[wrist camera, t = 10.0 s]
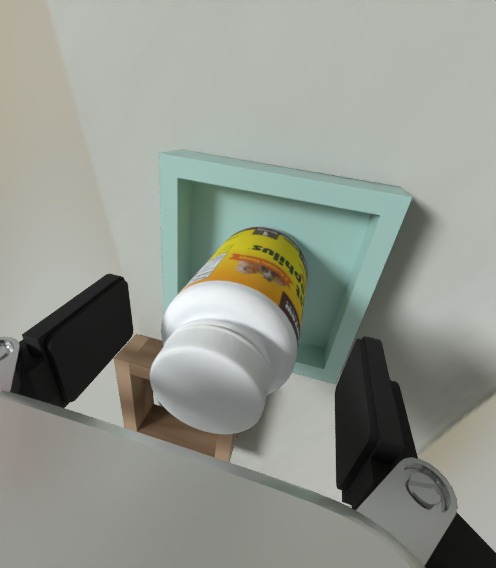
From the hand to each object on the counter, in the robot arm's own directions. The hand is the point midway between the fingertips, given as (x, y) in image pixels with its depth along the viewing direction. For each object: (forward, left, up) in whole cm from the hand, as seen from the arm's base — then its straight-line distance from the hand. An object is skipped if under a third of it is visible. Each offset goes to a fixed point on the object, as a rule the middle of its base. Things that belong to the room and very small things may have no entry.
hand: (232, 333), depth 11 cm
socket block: (+15, -5, -8) cm, 17 cm away
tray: (+1, 0, -8) cm, 8 cm away
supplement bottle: (0, 0, -8) cm, 8 cm away
